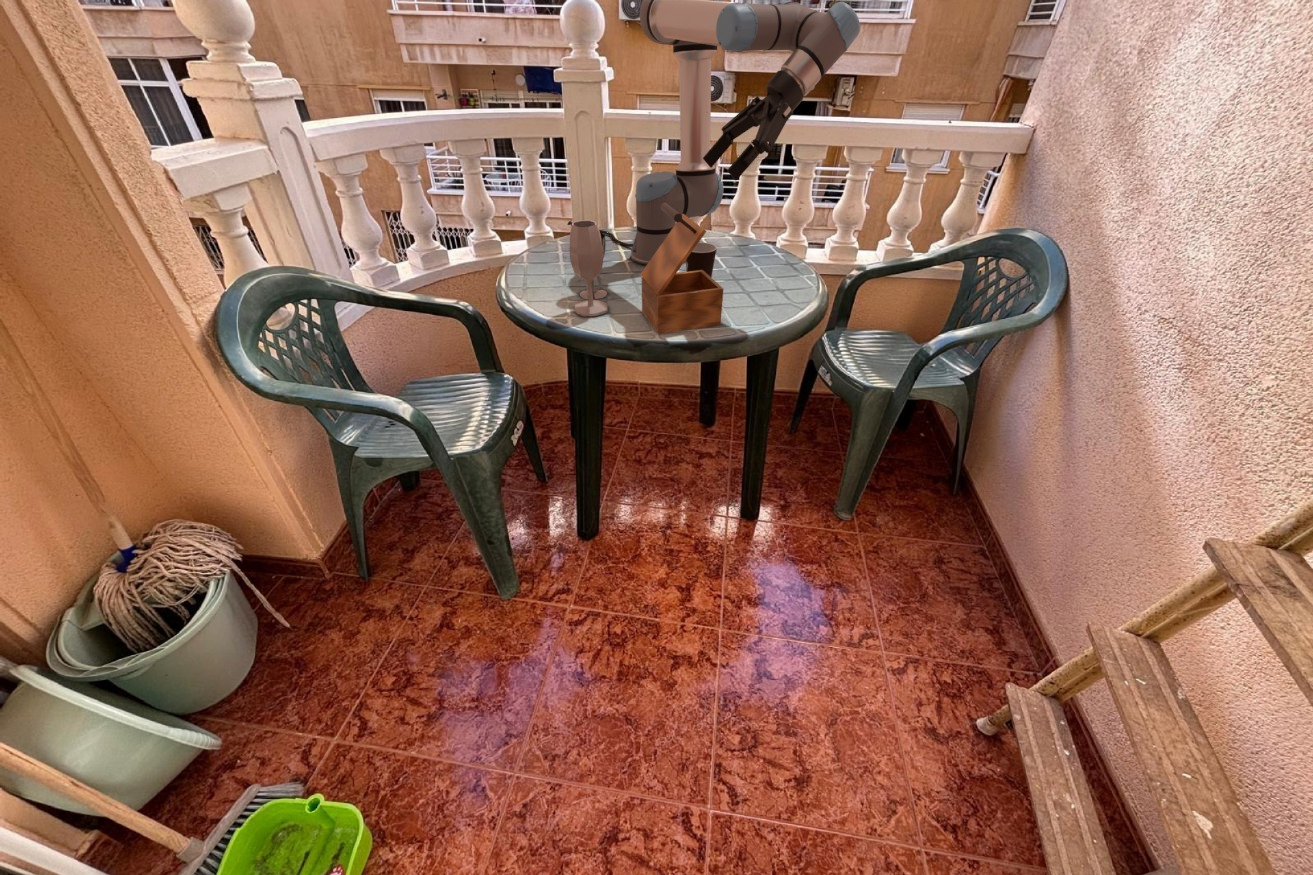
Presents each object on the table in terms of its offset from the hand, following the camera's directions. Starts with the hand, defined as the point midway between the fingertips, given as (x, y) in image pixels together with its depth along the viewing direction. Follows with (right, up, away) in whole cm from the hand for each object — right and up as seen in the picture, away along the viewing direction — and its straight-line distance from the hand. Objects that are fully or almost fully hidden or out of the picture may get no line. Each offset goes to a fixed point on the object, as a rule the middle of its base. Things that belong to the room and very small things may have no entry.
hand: (718, 169), depth 114 cm
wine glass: (-30, -20, +28) cm, 45 cm away
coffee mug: (-1, -14, +35) cm, 38 cm away
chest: (-7, -28, +16) cm, 33 cm away
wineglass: (-30, -26, +20) cm, 44 cm away
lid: (-10, -16, +6) cm, 20 cm away
